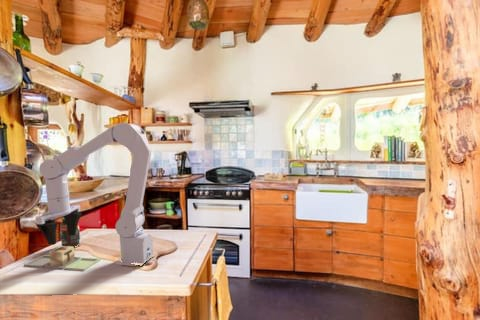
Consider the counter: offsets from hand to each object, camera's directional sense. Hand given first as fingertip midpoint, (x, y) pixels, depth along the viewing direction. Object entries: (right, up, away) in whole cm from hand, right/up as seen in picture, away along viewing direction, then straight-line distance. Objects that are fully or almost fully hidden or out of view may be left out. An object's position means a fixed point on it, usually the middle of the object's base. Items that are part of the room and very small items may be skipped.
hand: (62, 239), depth 86 cm
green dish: (+7, -8, -1) cm, 11 cm away
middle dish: (0, -8, +1) cm, 8 cm away
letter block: (0, -8, +1) cm, 8 cm away
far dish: (-8, -8, +2) cm, 12 cm away
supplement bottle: (-6, -7, +15) cm, 18 cm away
